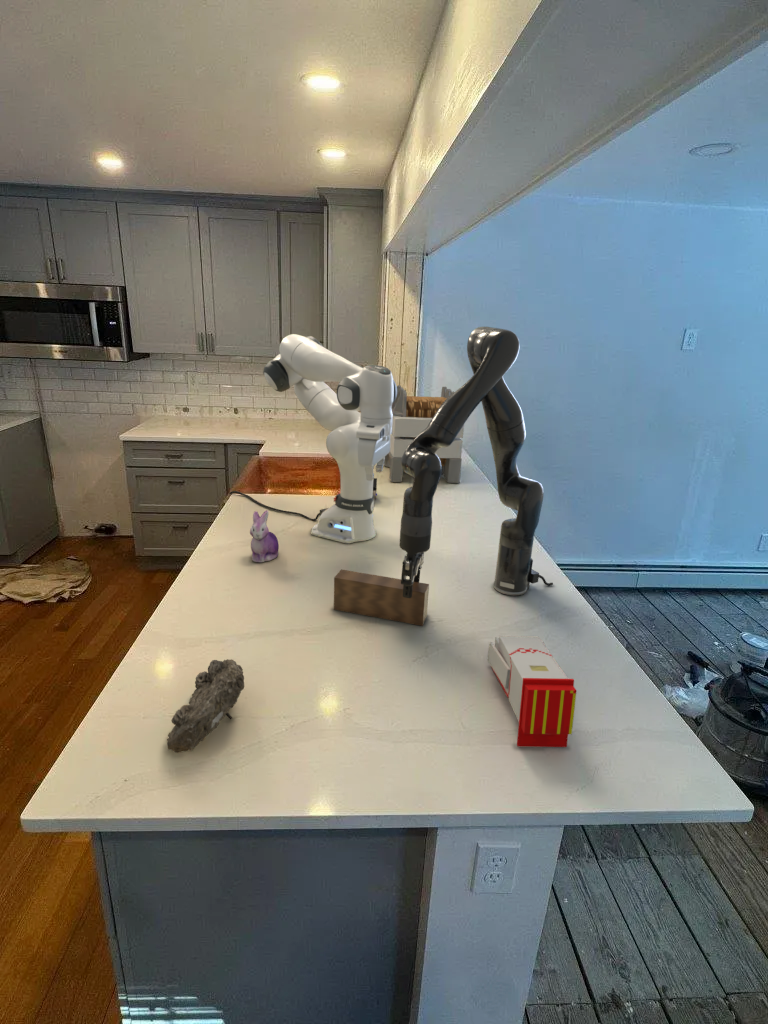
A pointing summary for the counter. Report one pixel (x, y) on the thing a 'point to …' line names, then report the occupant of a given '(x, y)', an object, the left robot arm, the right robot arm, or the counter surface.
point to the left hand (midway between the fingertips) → (374, 475)
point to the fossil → (206, 705)
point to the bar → (380, 597)
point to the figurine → (262, 539)
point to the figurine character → (374, 487)
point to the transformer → (409, 423)
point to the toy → (534, 690)
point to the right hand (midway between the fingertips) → (411, 589)
